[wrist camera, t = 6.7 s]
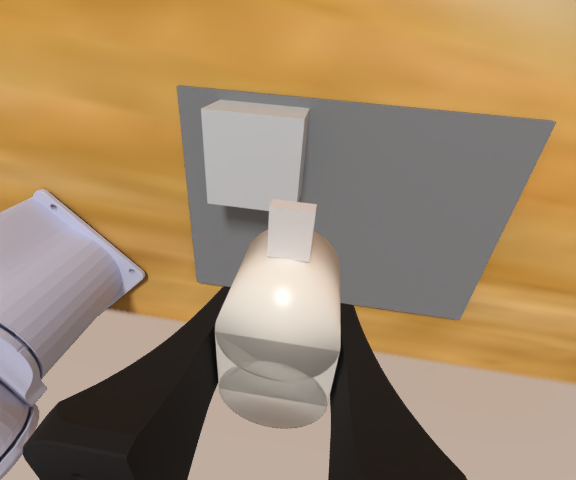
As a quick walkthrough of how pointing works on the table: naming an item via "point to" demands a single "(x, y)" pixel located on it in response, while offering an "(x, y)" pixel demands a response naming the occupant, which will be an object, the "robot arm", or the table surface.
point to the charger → (253, 153)
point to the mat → (380, 196)
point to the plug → (281, 323)
